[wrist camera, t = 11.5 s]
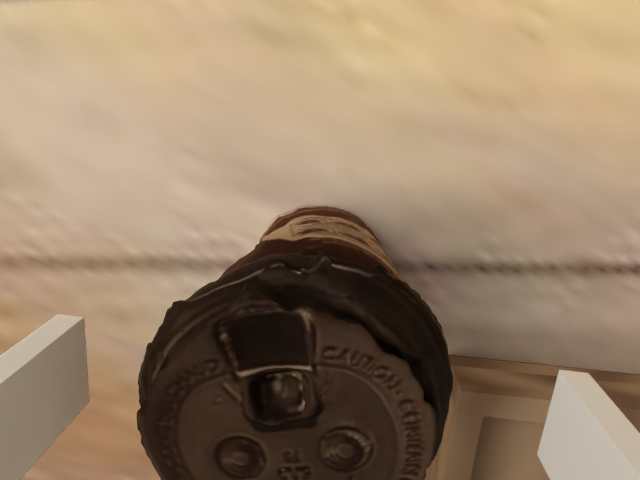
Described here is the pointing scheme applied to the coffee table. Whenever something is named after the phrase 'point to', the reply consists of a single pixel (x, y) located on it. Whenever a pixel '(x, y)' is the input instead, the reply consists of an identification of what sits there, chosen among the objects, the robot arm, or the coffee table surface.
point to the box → (509, 417)
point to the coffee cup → (298, 365)
